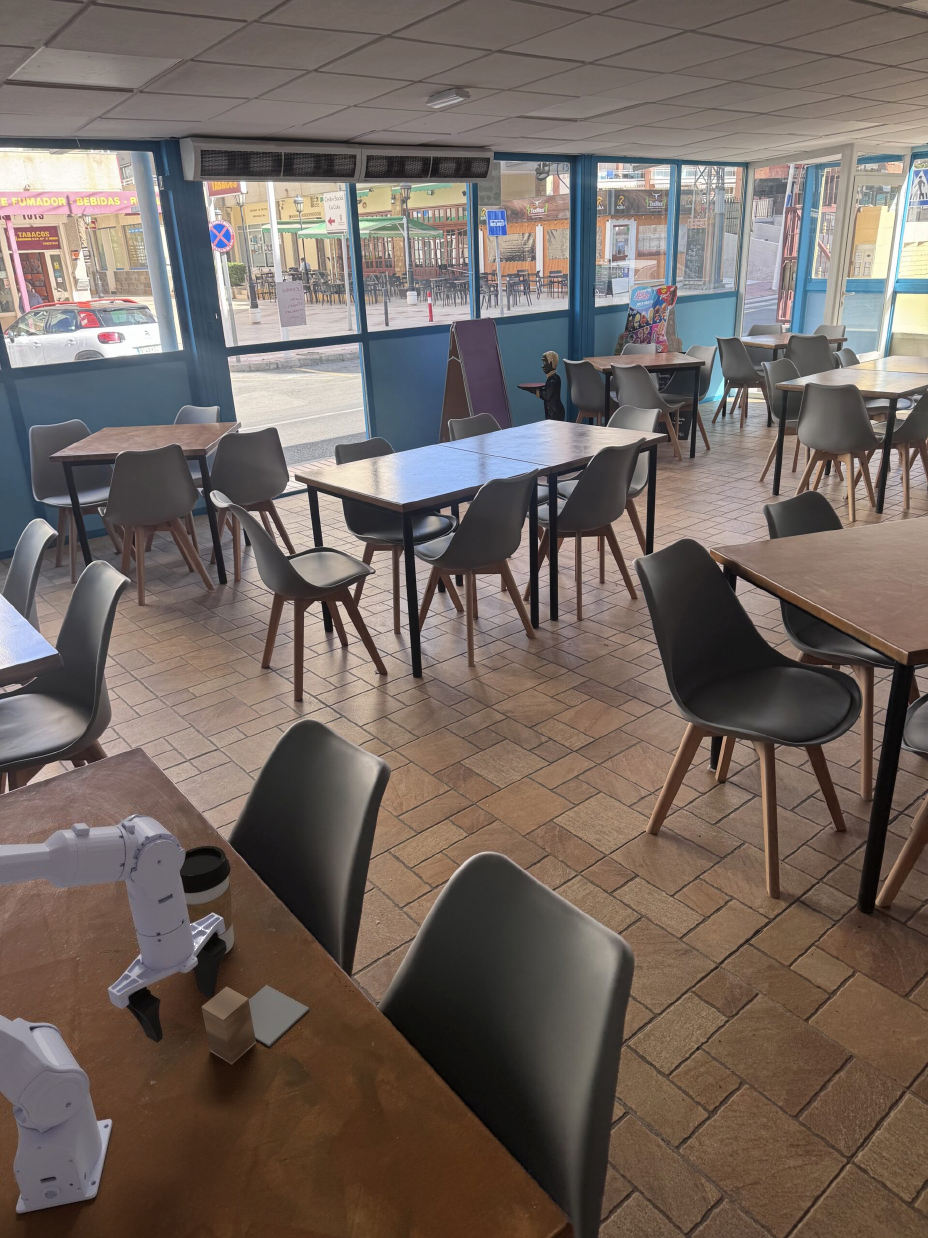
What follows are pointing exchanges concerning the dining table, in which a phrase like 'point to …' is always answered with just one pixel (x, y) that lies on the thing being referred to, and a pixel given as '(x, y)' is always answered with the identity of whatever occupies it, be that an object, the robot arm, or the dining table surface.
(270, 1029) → the slate mat
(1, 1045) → the robot arm
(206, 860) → the coffee cup
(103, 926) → the dining table surface
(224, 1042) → the walnut block
